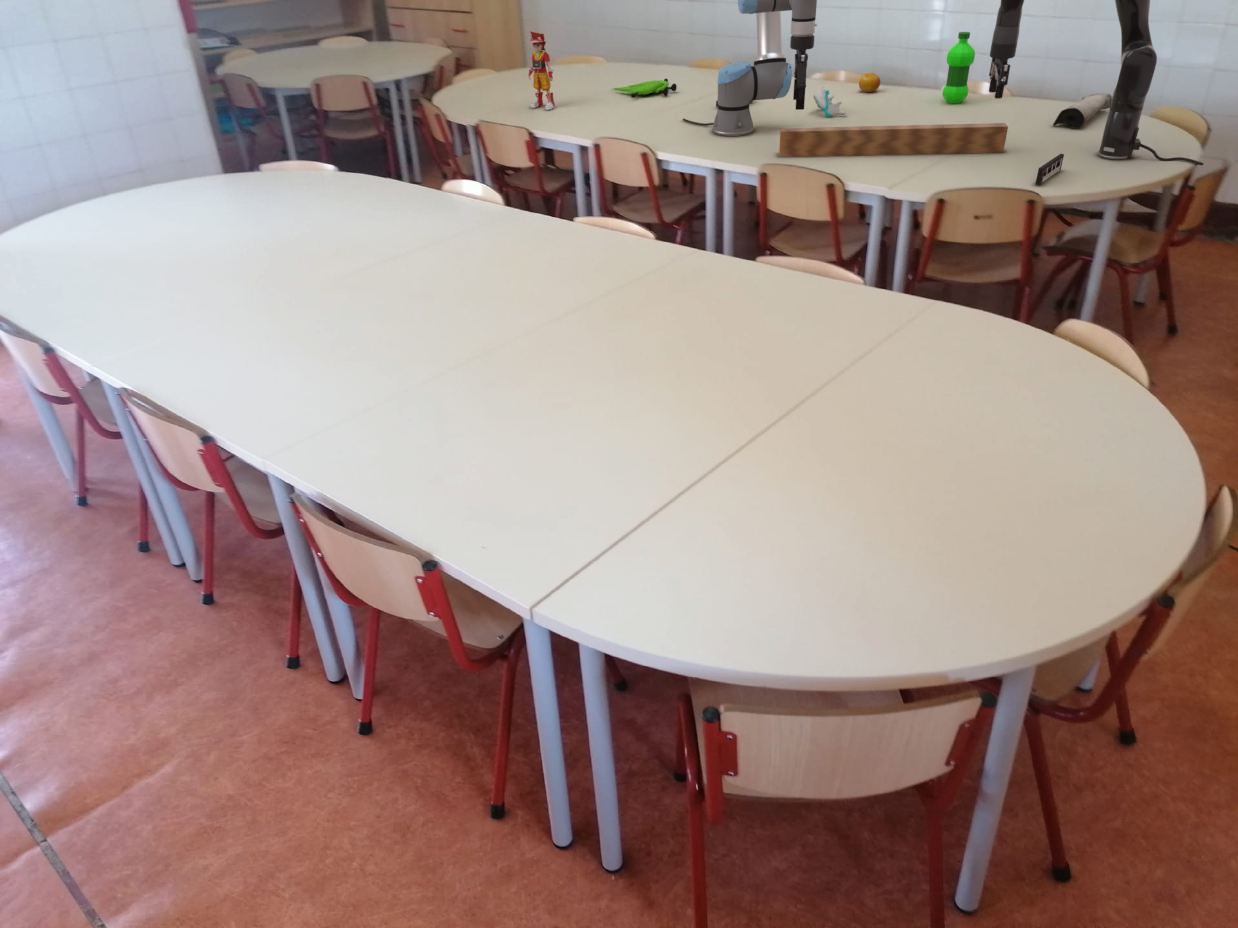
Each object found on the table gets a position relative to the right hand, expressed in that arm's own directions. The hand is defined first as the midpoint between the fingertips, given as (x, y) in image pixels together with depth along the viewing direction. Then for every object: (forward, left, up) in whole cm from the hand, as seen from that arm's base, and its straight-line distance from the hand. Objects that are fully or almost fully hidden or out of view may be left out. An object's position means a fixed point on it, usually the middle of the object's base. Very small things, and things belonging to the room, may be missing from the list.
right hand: (995, 95), depth 290 cm
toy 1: (+178, -40, -18) cm, 183 cm away
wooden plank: (+31, +6, -18) cm, 36 cm away
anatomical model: (+58, -44, -18) cm, 75 cm away
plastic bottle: (+12, -66, -18) cm, 70 cm away
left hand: (+61, +13, -1) cm, 63 cm away
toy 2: (+144, -71, -18) cm, 161 cm away
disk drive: (+97, -53, -18) cm, 112 cm away
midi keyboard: (-18, +27, -18) cm, 37 cm away
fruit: (+46, -81, -18) cm, 95 cm away
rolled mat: (-33, -46, -18) cm, 59 cm away
